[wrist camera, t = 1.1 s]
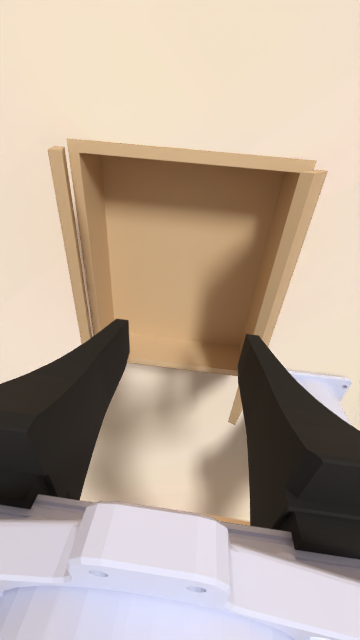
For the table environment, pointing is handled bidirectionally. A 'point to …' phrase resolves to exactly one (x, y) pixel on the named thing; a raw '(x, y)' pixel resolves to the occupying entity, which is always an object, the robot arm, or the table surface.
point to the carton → (180, 245)
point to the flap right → (286, 260)
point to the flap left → (70, 237)
